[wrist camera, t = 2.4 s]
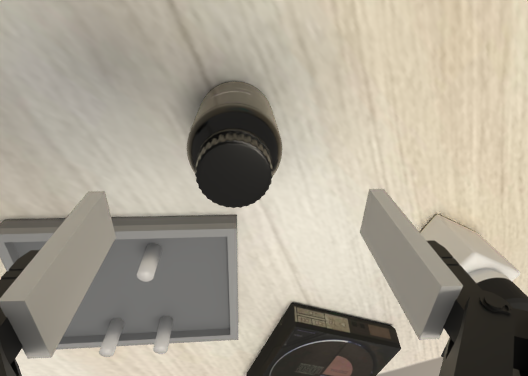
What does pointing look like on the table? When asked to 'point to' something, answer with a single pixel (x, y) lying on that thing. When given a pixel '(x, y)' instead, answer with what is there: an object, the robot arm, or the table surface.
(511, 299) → the medicine bottle
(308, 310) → the portable cd player
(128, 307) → the pin tray
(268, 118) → the supplement bottle
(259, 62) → the table surface
